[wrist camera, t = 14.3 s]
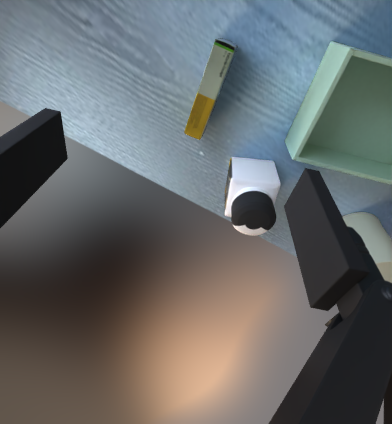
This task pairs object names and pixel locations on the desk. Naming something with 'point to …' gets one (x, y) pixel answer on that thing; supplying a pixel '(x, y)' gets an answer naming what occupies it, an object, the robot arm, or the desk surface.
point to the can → (373, 240)
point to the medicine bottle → (251, 194)
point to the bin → (347, 115)
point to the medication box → (210, 86)
